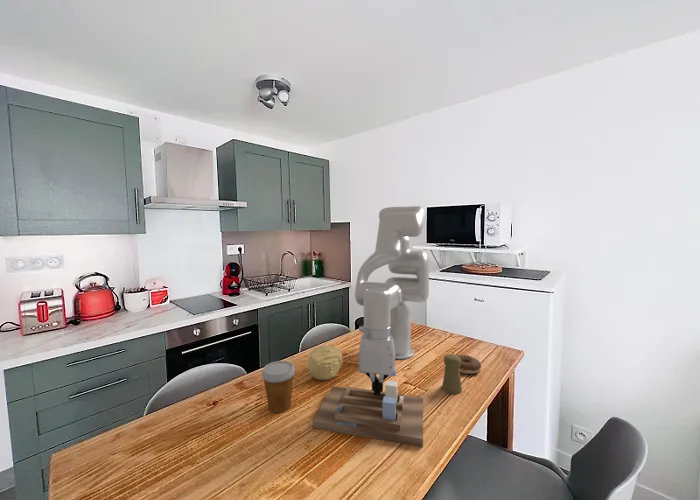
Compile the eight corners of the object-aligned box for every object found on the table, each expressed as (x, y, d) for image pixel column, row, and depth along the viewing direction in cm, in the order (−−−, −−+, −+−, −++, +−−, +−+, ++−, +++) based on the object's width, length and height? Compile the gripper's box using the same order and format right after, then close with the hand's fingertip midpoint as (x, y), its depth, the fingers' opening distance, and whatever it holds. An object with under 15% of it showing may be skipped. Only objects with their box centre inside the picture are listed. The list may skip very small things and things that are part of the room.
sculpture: (315, 387, 96) (314, 356, 95) (303, 371, 106) (302, 343, 105) (346, 379, 101) (346, 348, 100) (332, 364, 112) (331, 337, 111)
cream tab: (386, 398, 85) (386, 380, 85) (397, 399, 85) (397, 381, 84) (385, 403, 83) (385, 385, 82) (396, 405, 82) (396, 386, 82)
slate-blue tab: (383, 415, 78) (383, 396, 77) (396, 417, 77) (396, 397, 76) (382, 422, 75) (382, 402, 75) (395, 424, 74) (395, 403, 74)
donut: (449, 373, 104) (449, 362, 104) (450, 360, 114) (451, 350, 114) (481, 378, 100) (482, 367, 100) (480, 365, 110) (481, 354, 110)
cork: (463, 395, 90) (464, 360, 90) (443, 393, 92) (443, 359, 91) (460, 384, 96) (460, 352, 95) (441, 382, 98) (441, 351, 97)
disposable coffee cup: (301, 400, 89) (300, 362, 88) (285, 420, 80) (283, 378, 79) (275, 394, 92) (273, 358, 91) (256, 413, 83) (254, 372, 82)
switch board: (332, 392, 93) (332, 382, 93) (423, 404, 86) (423, 393, 86) (313, 428, 77) (312, 416, 76) (422, 446, 70) (422, 433, 69)
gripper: (348, 334, 81) (349, 397, 83) (402, 339, 77) (402, 404, 79) (354, 325, 88) (355, 383, 90) (404, 329, 85) (404, 389, 86)
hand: (377, 393), depth 85 cm, fingers closed
